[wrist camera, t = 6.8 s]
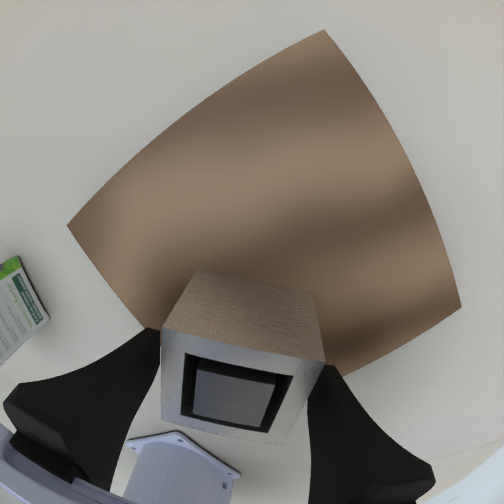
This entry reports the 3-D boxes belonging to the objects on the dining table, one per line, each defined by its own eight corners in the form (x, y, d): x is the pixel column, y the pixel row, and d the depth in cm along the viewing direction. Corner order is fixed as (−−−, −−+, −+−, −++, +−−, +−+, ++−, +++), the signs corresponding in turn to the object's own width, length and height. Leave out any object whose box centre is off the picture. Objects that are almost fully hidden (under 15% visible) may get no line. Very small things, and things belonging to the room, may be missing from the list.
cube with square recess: (312, 292, 14) (325, 361, 9) (282, 373, 16) (281, 445, 11) (198, 267, 14) (162, 327, 9) (188, 353, 16) (161, 419, 11)
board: (450, 295, 15) (461, 307, 13) (237, 402, 19) (234, 417, 18) (319, 40, 11) (323, 29, 9) (81, 218, 15) (66, 225, 14)
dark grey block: (277, 312, 14) (275, 385, 10) (265, 354, 15) (259, 426, 11) (221, 300, 14) (197, 369, 10) (214, 343, 15) (192, 413, 11)
